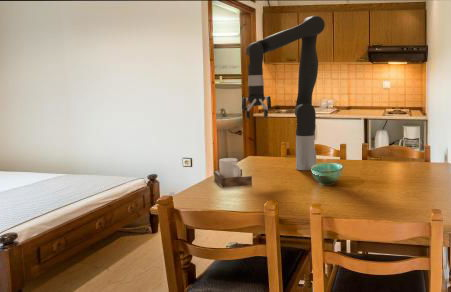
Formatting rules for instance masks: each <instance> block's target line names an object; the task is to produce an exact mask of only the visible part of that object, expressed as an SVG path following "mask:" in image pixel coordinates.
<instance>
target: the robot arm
mask: <svg viewBox="0 0 451 292" xmlns="http://www.w3.org/2000/svg"><path fill="white" fill-rule="evenodd" d="M325 26H326V22H325V20H324V19H323V18H322V17H321V16H319V15H312V16H308V17H306V18H304V20H303V21H302V23H300V24H298V25H296V26H293V27H290V28H288V29H285V30H282V31H279V32H276V33H274V34H271V35H268V36H266V37H264V38H263V39H260V40H257V41H255V42H251V43H249V44H248V45H247V47H246V50H245V52H246V55H247V56H248V57H249V63H248V66H247V74H248V76H247V77H248V78H247V90H248V93H247V95H248V96H247V97H242V98H241V110H243V111H245V118H246V119H248V120H250V119H251V114H250V113H251V111H250V110H251V109H252V108H253V107H257V106H258V107H259V106H261V107H262V108H263V118H265V119H266V118H268V116H269V113H268V112H269V110H270V109H271V108H272V101H271V100H272V99H271V98H272V97H271V96H269V95H267V96H265V89H264V88H265V86H264V85H265V83H264V81H265V80H264V72H263V71H264V70H263V65H264V64H263V63H264V54H267V53H269V52H273V51H275V50H278V49H280V48H283V47H286V46H287V45H289V44H291V43H294V42H295V41H297V40H301V47H300V58H299V65H298V79H297V81H298V84H297V97H296V102H295V107H294V115H295V118H296V130H295V160H296V161H295V163H296V165H295V166H296V167H295V168H296V170H298V171H312V170H311V167H312V166H313V165H315V164H316V165H317V150H316V149H315V147H316V146H315V145H316V144H315V139H316V138H315V135H316V134H315V133H316V132H315V131H316V123H317V122H316V118H317V117H316V109H315V106H313V93H314V89H315V86H316V83H317V79H318V73H319V72H318V71H319V59H318V52H317V46H316V45H317V39H318V36H319V35H320V34H321V33H322V32H323V31H324V30H325ZM264 101H266V103H264ZM247 102H249V103H248V104H247Z"/></svg>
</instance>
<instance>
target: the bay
mask: <svg viewBox="0 0 451 292" xmlns="http://www.w3.org/2000/svg"><path fill="white" fill-rule="evenodd" d="M240 170H241V175H240V177H227V178H224V177H223V176H222V175H221V174H220V170H214V171H213V175H214V180H215V182H216V183H217V184H219V186H221V187H222V188H231V187H232V188H234V187H244V186H253V176H252V175H243V169H242V168H240Z"/></svg>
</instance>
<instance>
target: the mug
mask: <svg viewBox="0 0 451 292" xmlns="http://www.w3.org/2000/svg"><path fill="white" fill-rule="evenodd" d="M218 164H219V171H220V174H221V175H222V176H223V177H224V178H227V177H240V175H241V170H240V169H241V167H240V166H239V164H238V158H234V157H227V158H226V157H225V158H220V159H219V160H218Z"/></svg>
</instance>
